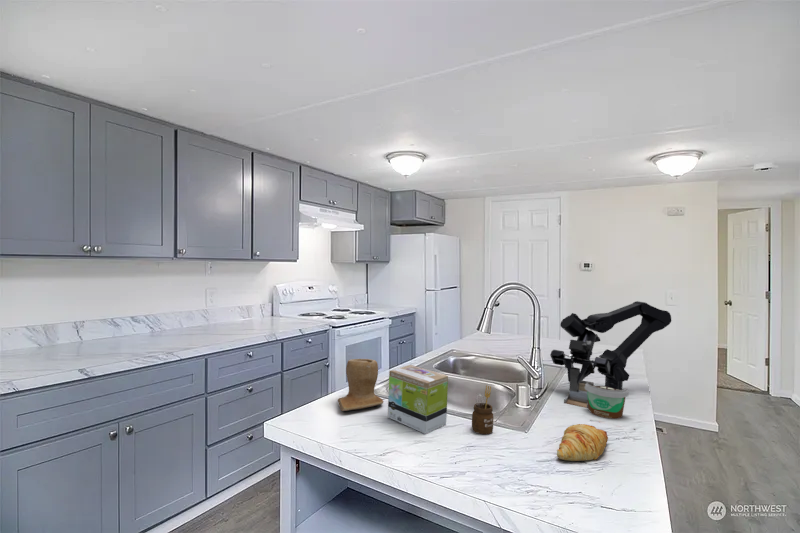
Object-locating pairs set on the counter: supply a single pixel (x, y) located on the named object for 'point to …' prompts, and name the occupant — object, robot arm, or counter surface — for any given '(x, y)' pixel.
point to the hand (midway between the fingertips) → (573, 382)
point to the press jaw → (576, 387)
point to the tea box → (418, 398)
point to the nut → (582, 387)
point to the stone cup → (360, 385)
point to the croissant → (582, 443)
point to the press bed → (574, 402)
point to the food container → (606, 401)
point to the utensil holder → (483, 416)
